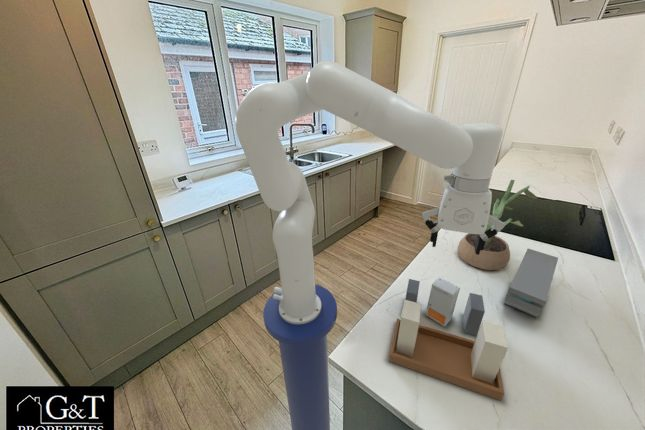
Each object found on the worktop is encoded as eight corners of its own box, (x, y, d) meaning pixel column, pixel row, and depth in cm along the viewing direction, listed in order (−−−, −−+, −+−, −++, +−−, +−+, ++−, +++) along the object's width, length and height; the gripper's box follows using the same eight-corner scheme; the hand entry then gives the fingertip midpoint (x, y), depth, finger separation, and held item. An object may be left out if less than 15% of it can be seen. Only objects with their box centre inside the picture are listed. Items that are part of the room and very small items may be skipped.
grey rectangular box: (531, 331, 70) (546, 301, 65) (498, 316, 75) (509, 287, 70) (546, 284, 86) (558, 257, 81) (517, 274, 91) (527, 248, 86)
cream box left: (395, 351, 65) (401, 317, 60) (399, 332, 70) (404, 299, 65) (412, 357, 64) (419, 322, 59) (415, 337, 69) (421, 303, 64)
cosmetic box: (424, 315, 76) (431, 283, 71) (431, 307, 79) (438, 276, 73) (445, 327, 72) (453, 295, 67) (452, 319, 75) (460, 287, 69)
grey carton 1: (403, 315, 76) (406, 292, 72) (405, 301, 81) (409, 278, 77) (413, 318, 75) (417, 294, 71) (415, 303, 80) (419, 281, 76)
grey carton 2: (464, 332, 70) (471, 308, 66) (462, 316, 75) (469, 292, 71) (476, 336, 69) (484, 311, 65) (474, 319, 74) (482, 295, 70)
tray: (388, 361, 64) (389, 354, 63) (396, 325, 73) (397, 318, 72) (500, 400, 55) (504, 393, 54) (493, 354, 65) (495, 347, 64)
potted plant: (496, 280, 88) (524, 199, 75) (447, 256, 102) (463, 183, 88) (525, 257, 100) (554, 182, 86) (477, 237, 113) (496, 170, 100)
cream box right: (472, 377, 59) (485, 341, 54) (470, 354, 64) (482, 319, 59) (492, 384, 58) (508, 347, 52) (489, 360, 63) (503, 325, 57)
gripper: (426, 184, 57) (416, 249, 65) (520, 193, 51) (497, 263, 59) (428, 174, 64) (419, 234, 71) (512, 181, 57) (492, 246, 65)
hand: (454, 247), depth 65 cm, fingers open, 9 cm apart
